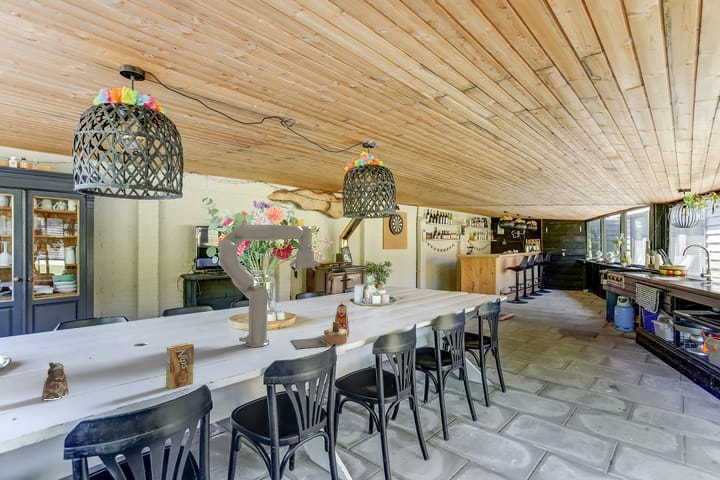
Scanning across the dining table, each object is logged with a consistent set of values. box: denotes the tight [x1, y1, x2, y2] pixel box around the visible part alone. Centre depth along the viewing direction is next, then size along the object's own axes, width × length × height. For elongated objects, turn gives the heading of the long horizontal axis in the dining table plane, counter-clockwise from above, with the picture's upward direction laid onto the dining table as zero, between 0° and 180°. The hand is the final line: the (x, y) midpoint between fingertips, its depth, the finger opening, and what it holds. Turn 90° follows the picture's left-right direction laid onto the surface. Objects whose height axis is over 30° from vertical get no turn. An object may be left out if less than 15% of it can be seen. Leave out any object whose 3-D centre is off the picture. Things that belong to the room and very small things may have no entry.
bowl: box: [323, 334, 348, 346], centre depth 207 cm, size 12×12×5 cm
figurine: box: [41, 361, 69, 400], centre depth 132 cm, size 7×7×12 cm
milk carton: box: [334, 301, 350, 338], centre depth 223 cm, size 9×9×20 cm
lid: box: [323, 321, 348, 336], centre depth 207 cm, size 13×13×6 cm
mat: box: [290, 337, 328, 350], centre depth 202 cm, size 16×16×1 cm
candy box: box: [165, 342, 195, 390], centre depth 144 cm, size 9×4×15 cm, turn 137°
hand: (304, 278), depth 213 cm, fingers open, 9 cm apart
